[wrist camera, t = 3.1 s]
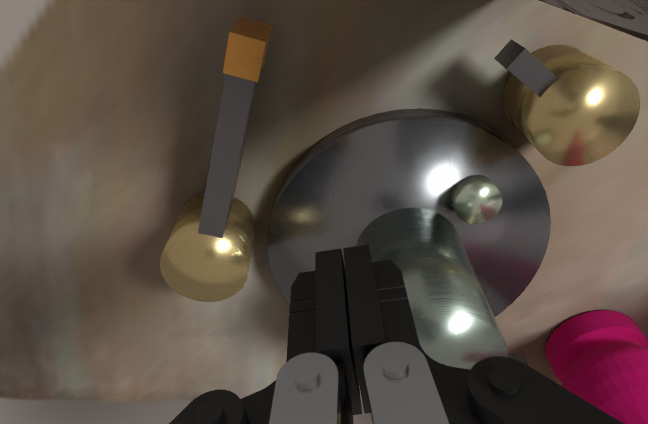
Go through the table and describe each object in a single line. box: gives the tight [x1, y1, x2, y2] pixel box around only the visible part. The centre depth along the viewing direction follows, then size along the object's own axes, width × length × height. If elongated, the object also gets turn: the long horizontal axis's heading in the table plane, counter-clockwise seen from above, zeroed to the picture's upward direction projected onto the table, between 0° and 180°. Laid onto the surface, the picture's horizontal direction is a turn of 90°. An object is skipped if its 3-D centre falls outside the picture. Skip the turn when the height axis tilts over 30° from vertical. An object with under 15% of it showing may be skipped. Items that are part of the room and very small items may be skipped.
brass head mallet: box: [160, 17, 272, 302], centre depth 23 cm, size 14×4×4 cm, turn 164°
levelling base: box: [267, 39, 640, 370], centre depth 24 cm, size 23×19×10 cm
